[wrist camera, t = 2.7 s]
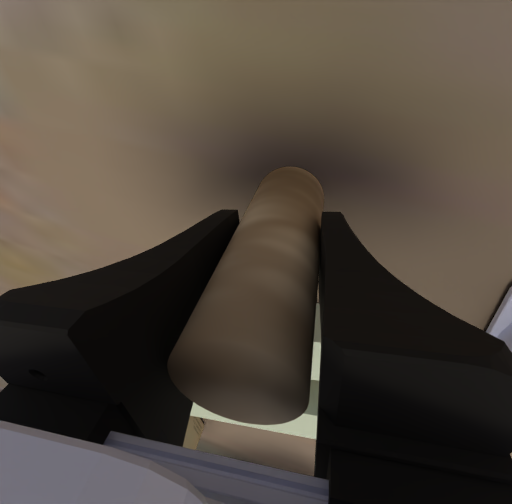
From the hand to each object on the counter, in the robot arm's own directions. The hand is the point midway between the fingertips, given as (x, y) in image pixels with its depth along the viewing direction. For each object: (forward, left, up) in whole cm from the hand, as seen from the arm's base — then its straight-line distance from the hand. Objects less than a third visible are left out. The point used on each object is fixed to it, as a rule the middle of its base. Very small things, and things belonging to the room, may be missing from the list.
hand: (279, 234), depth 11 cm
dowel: (0, 0, -3) cm, 3 cm away
